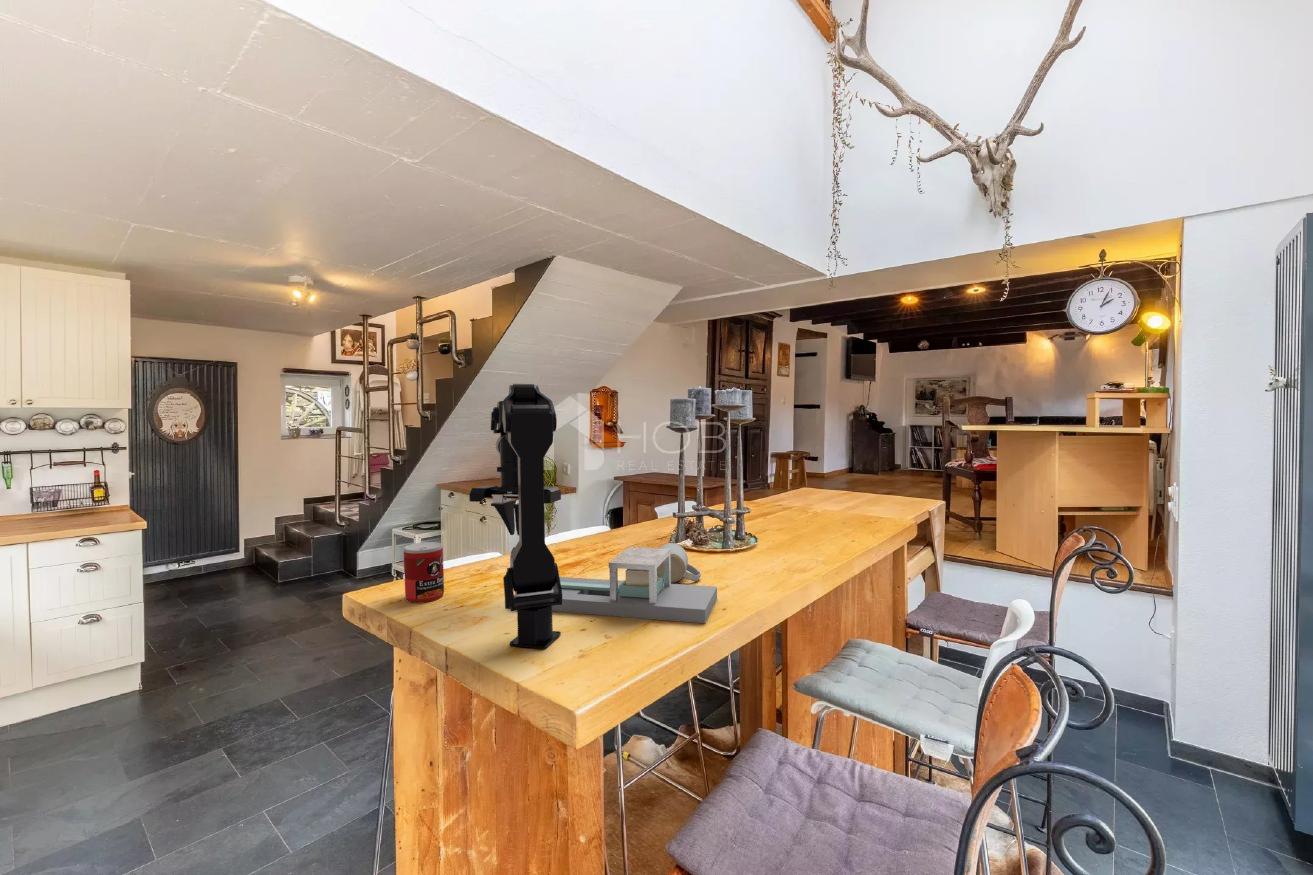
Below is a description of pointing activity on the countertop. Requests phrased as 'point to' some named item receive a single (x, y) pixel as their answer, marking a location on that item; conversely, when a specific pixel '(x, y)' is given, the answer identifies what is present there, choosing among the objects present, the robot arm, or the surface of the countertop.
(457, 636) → the countertop surface
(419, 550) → the canned food
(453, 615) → the countertop surface
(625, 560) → the grey stone table
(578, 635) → the countertop surface
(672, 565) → the ceramic mug
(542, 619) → the robot arm
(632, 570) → the beech block
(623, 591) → the long teal base
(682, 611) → the slate deck
